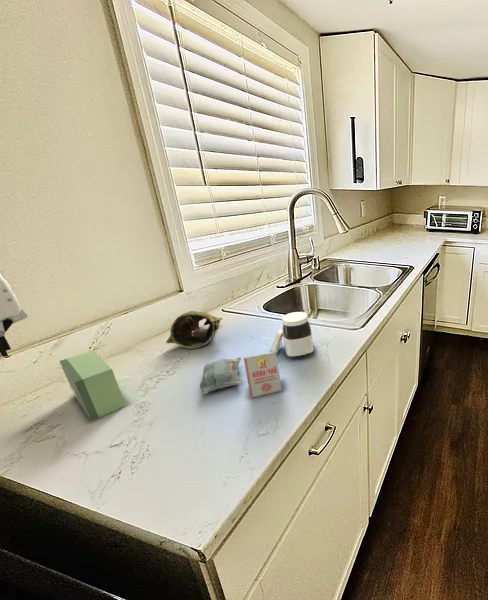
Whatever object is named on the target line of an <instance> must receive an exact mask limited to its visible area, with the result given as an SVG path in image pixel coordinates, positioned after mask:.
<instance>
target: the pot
mask: <svg viewBox="0 0 488 600" xmlns="http://www.w3.org/2000/svg"><path fill="white" fill-rule="evenodd" d="M202 320H205V321H204V323H203V326H207V325H209V326H208V329H207V331H206V334H205V336H203V337H199V336H196V335H195V334H193V332H197V330H200V328H201V327H200V322H201V321H202ZM222 320H223V317H218V316H216V315H212V314H210V313H208V312H206V311H201V310H198V311H197V310H190V311H187V312H184V313H182V314H181V315H179V316H177V317H176V318H175V320H174V321H173V323H172V324H171V327H170V333H169V334H170V335H169V337H168V338H167V340H166V341H165V345H167V344H175V345H177V346H179V347H182V348H185V349H186V348H187V349H196V348H200V347H203V346H205V345H207V344H208V342H210V341H211V339H212V338H213V337H214V334H215V333H216V331H217V330H219V328H220V323H221V321H222ZM197 344H199V345H197Z"/></svg>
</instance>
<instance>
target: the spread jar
mask: <svg viewBox="0 0 488 600" xmlns="http://www.w3.org/2000/svg"><path fill="white" fill-rule="evenodd" d="M308 316H309V315H308V313H306V312H303V311H293V312H289V313H286V314H285V315H283V316H282V318H281V319H282V327H281V329H280V328H279V329H278V330H277V332H276V333H275V335H274V338H273V341H272V344H271V351H270V352H276V354H278V353H279V352H280V349H281V347H282V344H284V350H285V354H286V356H287V358H288V359H293V360H297V359H298V360H299V359H303V358H307V357H308V356H310V355H312V354H313V353H314V341H313V332H312V327H311V324H310V322H309V317H308Z"/></svg>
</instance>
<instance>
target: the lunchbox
mask: <svg viewBox="0 0 488 600" xmlns="http://www.w3.org/2000/svg"><path fill="white" fill-rule="evenodd" d="M59 364H60V366H61V368H62V370H63V372H64V375H65V377H66V379H67V382H68V384H69V389H70V391H71V392H72V393H73V395H74V397H75V398H76V400H77V402H78V403H79V405H80V406H81V407H82V409H83V410H84V412H85V413H86V415H87V417H88V418H89V419H90V421H91V422H92V421H94V420H96V419H98V418H101V417H103V416H105V415H107V414H111V413H112V412H115V411H117V410H118V409H119V410H120V409H121V408H123V407H126V406H127V405H126V402H125V400H124V397H123V394H122V392H121V389H120V387H119V386H120V385H119V384H118V381H117V378H116V376H115V373H114V371H113V368H111V366H110V365H109V364H108V363H107V362H106V361H105V360H104V359H103V358H102V357H101V355H99V354H98V353H97V352H96V351H95V350H94V349H93V350H89V351H87V352H84V353H81V354H80V353H79V354H78V355H74V356H71V357H68V358H64V359H61V360H59Z"/></svg>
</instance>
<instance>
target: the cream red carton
mask: <svg viewBox="0 0 488 600" xmlns="http://www.w3.org/2000/svg"><path fill="white" fill-rule="evenodd" d="M243 360H244V367H245V372H246V378H247V384H248V389H249V393H250V397H251V399H253V398H257V397H261V396H265V395H269V394H274V393H278V392H282V390H283V389H282V383H281V376H280V370H279V369H280V368H279V364H278V359H277V353H276V352H272V351H270V352H266V353H261V354H254V355H251V356H245V357H243Z"/></svg>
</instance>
